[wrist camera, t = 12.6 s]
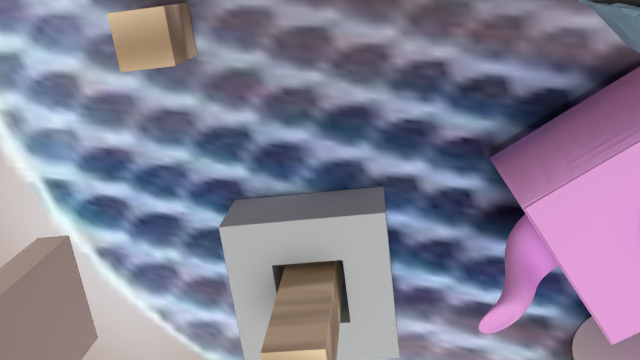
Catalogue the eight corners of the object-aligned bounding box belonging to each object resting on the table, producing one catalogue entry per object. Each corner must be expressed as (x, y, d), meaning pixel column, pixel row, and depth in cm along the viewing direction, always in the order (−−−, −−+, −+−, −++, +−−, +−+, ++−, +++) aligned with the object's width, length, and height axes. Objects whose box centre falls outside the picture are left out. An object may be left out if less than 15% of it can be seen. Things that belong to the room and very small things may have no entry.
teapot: (683, 29, 38) (826, 55, 26) (749, 155, 40) (908, 231, 28) (416, 193, 43) (434, 276, 31) (488, 297, 45) (531, 411, 33)
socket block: (234, 200, 44) (218, 227, 39) (383, 186, 43) (385, 212, 38) (258, 328, 48) (246, 367, 43) (396, 318, 46) (399, 357, 42)
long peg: (292, 241, 45) (260, 353, 32) (338, 237, 45) (325, 349, 31) (298, 282, 46) (270, 406, 33) (343, 279, 46) (333, 403, 32)
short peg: (137, 8, 40) (107, 13, 35) (187, 2, 40) (163, 6, 35) (148, 60, 41) (120, 72, 37) (197, 55, 41) (175, 65, 36)
